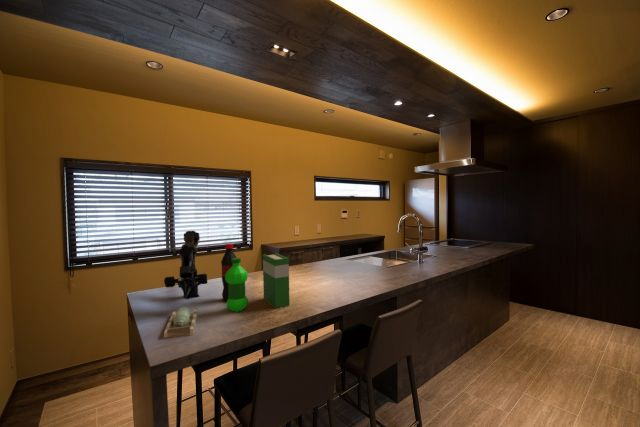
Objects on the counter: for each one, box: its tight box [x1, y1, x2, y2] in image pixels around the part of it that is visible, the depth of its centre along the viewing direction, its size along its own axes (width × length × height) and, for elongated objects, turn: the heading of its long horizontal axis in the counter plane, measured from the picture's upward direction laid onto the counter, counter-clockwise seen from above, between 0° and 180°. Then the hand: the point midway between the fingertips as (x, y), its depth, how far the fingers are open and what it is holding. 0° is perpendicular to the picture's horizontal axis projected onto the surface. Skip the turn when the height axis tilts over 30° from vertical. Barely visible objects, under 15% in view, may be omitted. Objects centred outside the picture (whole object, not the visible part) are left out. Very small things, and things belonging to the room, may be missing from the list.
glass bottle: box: [173, 306, 191, 327], centre depth 123 cm, size 6×6×14 cm
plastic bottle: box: [225, 257, 249, 313], centre depth 141 cm, size 10×10×25 cm
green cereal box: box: [262, 252, 290, 309], centre depth 152 cm, size 18×7×24 cm, turn 30°
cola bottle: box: [220, 243, 237, 302], centre depth 156 cm, size 8×8×30 cm
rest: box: [163, 308, 199, 339], centre depth 125 cm, size 24×10×4 cm, turn 19°
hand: (185, 296), depth 137 cm, fingers closed
